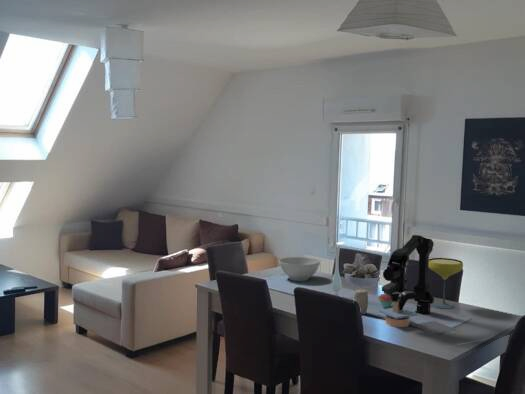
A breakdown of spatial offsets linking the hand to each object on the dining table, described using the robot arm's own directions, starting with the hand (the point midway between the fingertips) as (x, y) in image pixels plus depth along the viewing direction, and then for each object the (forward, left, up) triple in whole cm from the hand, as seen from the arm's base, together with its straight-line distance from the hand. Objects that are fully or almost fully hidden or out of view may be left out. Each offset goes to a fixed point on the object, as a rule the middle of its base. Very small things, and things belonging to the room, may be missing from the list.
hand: (398, 309), depth 267 cm
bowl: (0, 0, -8) cm, 8 cm away
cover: (0, 0, -2) cm, 2 cm away
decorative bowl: (-5, -103, -8) cm, 103 cm away
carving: (+5, -23, -8) cm, 25 cm away
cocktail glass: (-45, -15, -8) cm, 48 cm away
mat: (-12, +12, -8) cm, 19 cm away
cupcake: (-15, -27, -8) cm, 32 cm away
